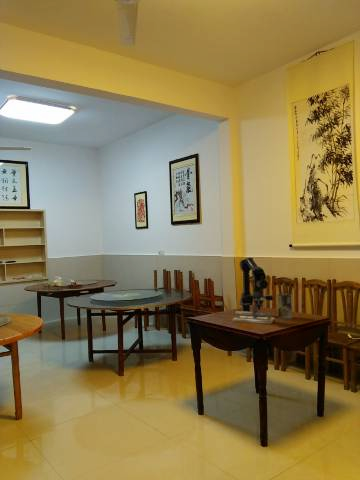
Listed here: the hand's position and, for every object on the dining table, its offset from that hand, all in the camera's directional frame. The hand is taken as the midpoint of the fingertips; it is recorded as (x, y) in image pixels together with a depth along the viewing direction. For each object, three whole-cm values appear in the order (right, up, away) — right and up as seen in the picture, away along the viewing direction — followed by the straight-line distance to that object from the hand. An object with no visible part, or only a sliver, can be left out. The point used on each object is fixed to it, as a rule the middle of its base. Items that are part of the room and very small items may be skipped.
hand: (259, 310), depth 264 cm
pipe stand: (-4, -8, +2) cm, 9 cm away
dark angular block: (-2, -5, +1) cm, 6 cm away
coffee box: (+20, -7, +7) cm, 22 cm away
